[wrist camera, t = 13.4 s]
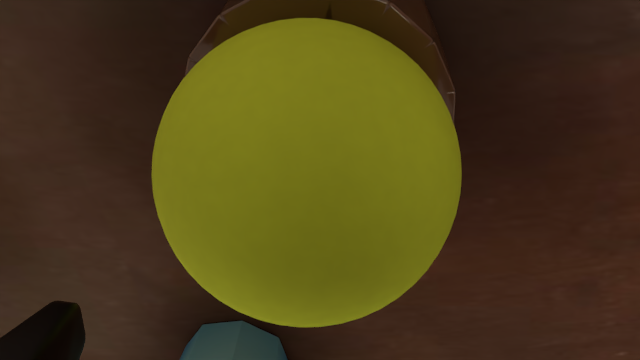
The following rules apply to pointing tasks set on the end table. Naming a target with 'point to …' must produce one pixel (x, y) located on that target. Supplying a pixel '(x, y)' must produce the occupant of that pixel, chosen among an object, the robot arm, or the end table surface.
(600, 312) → the end table surface
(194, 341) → the cup
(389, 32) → the holder
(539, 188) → the end table surface
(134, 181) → the end table surface
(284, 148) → the ball
